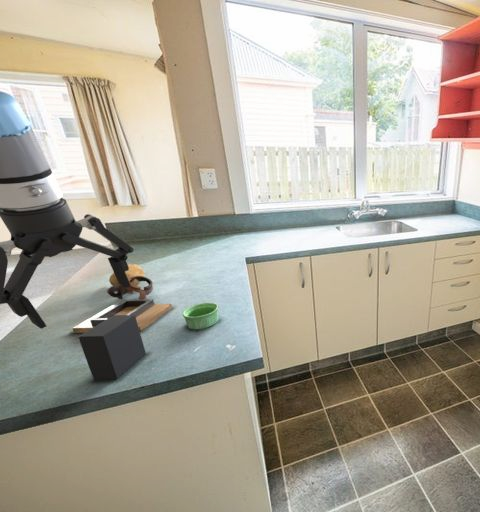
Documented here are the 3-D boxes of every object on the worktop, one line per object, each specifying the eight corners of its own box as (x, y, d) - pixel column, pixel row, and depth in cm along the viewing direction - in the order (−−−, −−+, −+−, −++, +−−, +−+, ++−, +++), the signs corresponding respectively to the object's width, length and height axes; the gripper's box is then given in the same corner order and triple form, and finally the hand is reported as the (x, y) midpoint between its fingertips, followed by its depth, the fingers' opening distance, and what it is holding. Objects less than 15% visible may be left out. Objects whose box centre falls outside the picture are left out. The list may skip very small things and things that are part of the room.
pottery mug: (140, 290, 110) (147, 272, 108) (153, 306, 107) (161, 288, 105) (98, 295, 99) (106, 275, 97) (112, 313, 96) (120, 292, 94)
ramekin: (206, 313, 93) (203, 300, 92) (227, 318, 90) (225, 305, 89) (178, 327, 85) (175, 313, 84) (200, 333, 82) (197, 319, 81)
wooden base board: (73, 332, 82) (69, 321, 81) (114, 308, 95) (111, 299, 94) (141, 331, 83) (138, 320, 82) (172, 307, 96) (169, 298, 95)
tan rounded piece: (151, 278, 120) (146, 259, 118) (141, 291, 108) (135, 271, 105) (121, 281, 116) (115, 262, 114) (107, 296, 104) (100, 275, 101)
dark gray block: (93, 380, 65) (77, 336, 61) (125, 354, 73) (113, 315, 70) (117, 379, 65) (103, 336, 62) (146, 353, 74) (135, 314, 70)
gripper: (-93, 241, 35) (5, 356, 47) (133, 187, 55) (163, 277, 67) (-119, 223, 38) (-19, 337, 49) (107, 177, 57) (141, 266, 69)
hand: (86, 302), depth 58 cm, fingers open, 13 cm apart
